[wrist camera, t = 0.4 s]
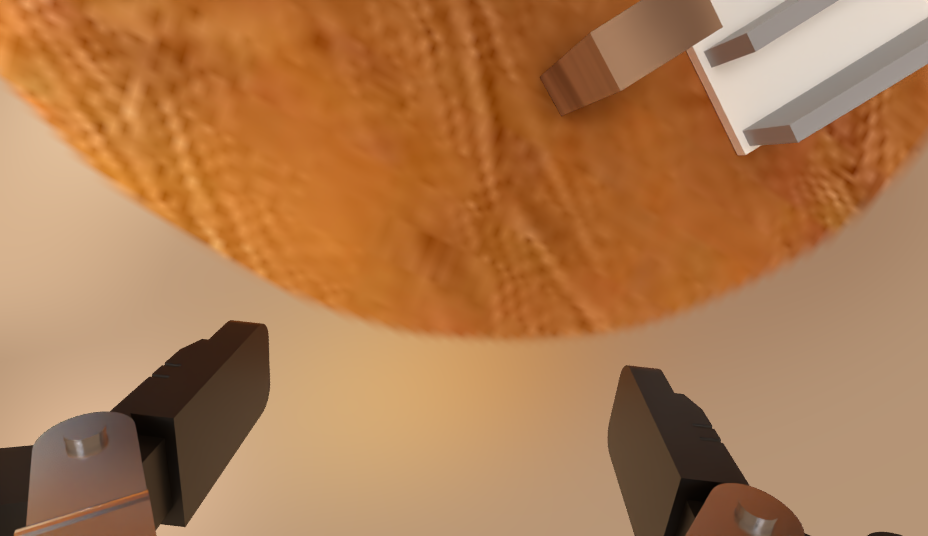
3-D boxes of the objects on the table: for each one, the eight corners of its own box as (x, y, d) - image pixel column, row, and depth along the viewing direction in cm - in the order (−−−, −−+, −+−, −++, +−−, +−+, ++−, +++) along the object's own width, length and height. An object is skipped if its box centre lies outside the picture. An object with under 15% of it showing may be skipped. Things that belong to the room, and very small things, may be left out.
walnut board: (561, 116, 37) (620, 91, 25) (539, 77, 36) (589, 32, 25) (630, 73, 37) (723, 26, 25) (609, 32, 36) (694, -34, 24)
